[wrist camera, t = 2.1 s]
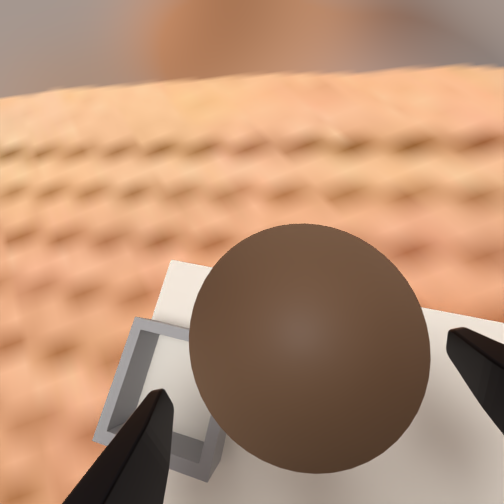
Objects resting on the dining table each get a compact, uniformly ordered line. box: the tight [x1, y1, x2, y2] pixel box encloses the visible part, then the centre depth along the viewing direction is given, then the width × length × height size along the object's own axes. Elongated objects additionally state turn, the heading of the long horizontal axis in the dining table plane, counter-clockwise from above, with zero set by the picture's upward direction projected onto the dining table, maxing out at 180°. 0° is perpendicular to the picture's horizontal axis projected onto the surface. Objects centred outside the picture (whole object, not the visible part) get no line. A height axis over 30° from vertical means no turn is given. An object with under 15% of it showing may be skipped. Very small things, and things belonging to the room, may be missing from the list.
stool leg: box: [189, 224, 431, 474], centre depth 10 cm, size 4×4×13 cm
